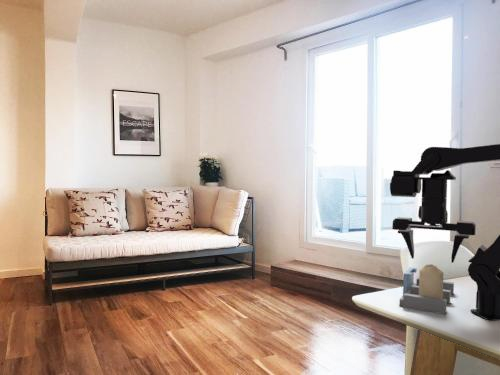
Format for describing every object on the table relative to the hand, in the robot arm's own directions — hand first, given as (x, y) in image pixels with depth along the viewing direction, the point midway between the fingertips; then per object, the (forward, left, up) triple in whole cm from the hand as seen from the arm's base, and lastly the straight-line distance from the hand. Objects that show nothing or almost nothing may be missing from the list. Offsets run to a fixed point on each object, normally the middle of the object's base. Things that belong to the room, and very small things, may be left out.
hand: (432, 260), depth 107 cm
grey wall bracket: (+5, -2, -11) cm, 12 cm away
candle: (0, 0, -12) cm, 12 cm away
